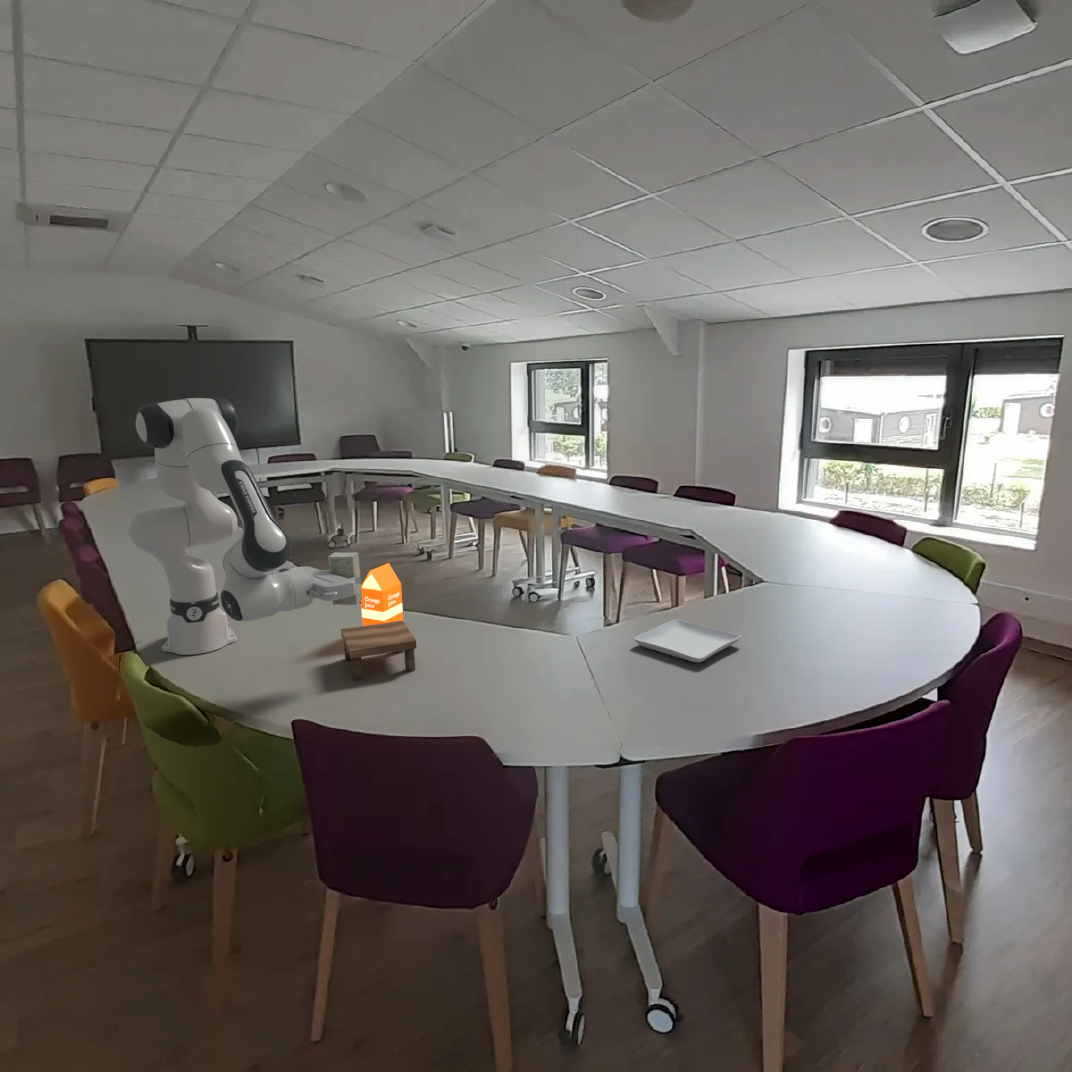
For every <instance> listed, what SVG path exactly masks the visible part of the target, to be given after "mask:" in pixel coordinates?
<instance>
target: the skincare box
mask: <svg viewBox="0 0 1072 1072" xmlns="http://www.w3.org/2000/svg"><path fill="white" fill-rule="evenodd" d="M359 558H360V557H359V551H355V552H352V551H349V552H348V551H347V552H346V551H344V552H343V551H342V552H340V551H339V552H337V551H336V552H333V553H331V554H330V555H328V556H327V559H328V568H329V569H328V570H330V573H332V574H335V575H338V576H341V577H344V578H348V579H350V578H351V576H355V575H357V576H360V577H361V570H360V569H361V568H360V567H361V566H360V559H359ZM361 586H362V582H361V583H360V584H356V585H355V594H354V595H353V596H352V597H348V598H343V599H339V600H333V601H332V605H336V606H337V605H338V606H339V605H340V606H343V605H345V606H346V605H347V606H352V605H353V606H356V605H357V606H358V605H359V603H361V600H362V588H361Z"/></svg>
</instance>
